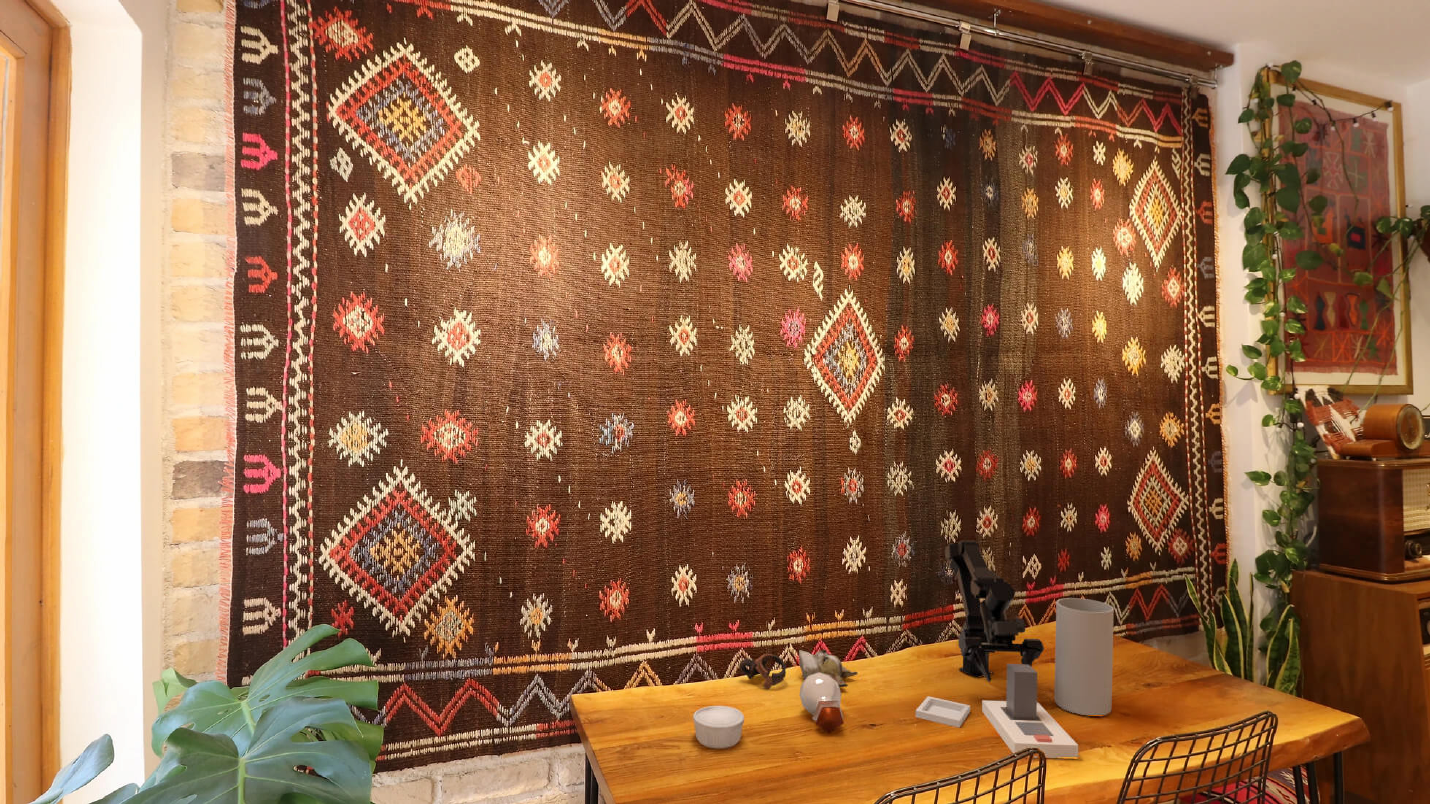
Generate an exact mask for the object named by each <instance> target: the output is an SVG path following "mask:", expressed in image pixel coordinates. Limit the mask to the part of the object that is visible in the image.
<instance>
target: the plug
mask: <svg viewBox="0 0 1430 804" xmlns="http://www.w3.org/2000/svg"><path fill="white" fill-rule="evenodd" d="M1005 701H1006V711H1007V716H1008V718H1009V719H1010V720H1028V721H1036V712H1037V702H1038V672H1037V671H1036V669H1034V668H1033V667H1031V666H1030V665H1025V664H1022V663H1021V664H1020V663H1018V664H1017V663H1006V699H1005Z"/></svg>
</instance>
